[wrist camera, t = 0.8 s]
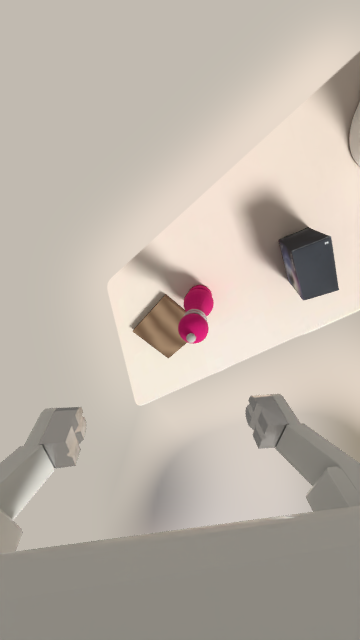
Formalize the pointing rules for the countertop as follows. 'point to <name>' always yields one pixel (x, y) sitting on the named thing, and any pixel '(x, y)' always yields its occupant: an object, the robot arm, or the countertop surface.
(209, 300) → the pepper mill
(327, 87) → the countertop surface
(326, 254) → the small box
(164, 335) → the walnut board
